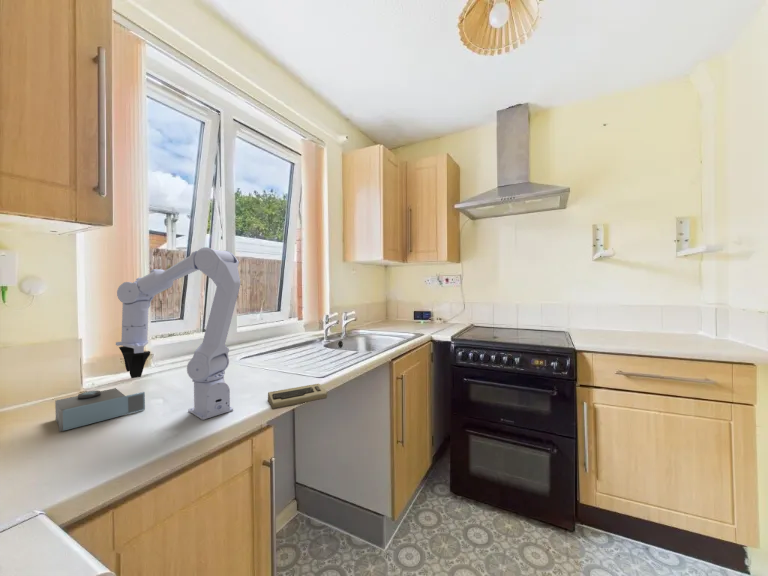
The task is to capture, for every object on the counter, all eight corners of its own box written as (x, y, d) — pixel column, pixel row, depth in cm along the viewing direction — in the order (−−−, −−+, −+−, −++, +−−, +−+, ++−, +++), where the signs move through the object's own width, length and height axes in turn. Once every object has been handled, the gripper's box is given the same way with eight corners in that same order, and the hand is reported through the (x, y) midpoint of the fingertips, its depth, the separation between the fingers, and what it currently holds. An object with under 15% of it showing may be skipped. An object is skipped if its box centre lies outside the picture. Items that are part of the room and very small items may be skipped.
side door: (59, 431, 74) (58, 411, 74) (58, 430, 74) (58, 410, 74) (145, 409, 86) (144, 392, 86) (143, 408, 87) (143, 391, 87)
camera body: (125, 414, 84) (125, 392, 84) (61, 431, 75) (60, 406, 75) (116, 405, 90) (115, 384, 90) (55, 419, 81) (55, 396, 81)
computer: (272, 411, 87) (272, 399, 87) (267, 401, 94) (267, 390, 94) (327, 400, 95) (327, 389, 95) (318, 392, 102) (318, 381, 102)
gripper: (113, 323, 90) (111, 370, 90) (120, 330, 80) (118, 383, 80) (143, 321, 95) (142, 366, 96) (154, 328, 85) (152, 378, 85)
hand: (133, 373), depth 88 cm, fingers open, 7 cm apart
